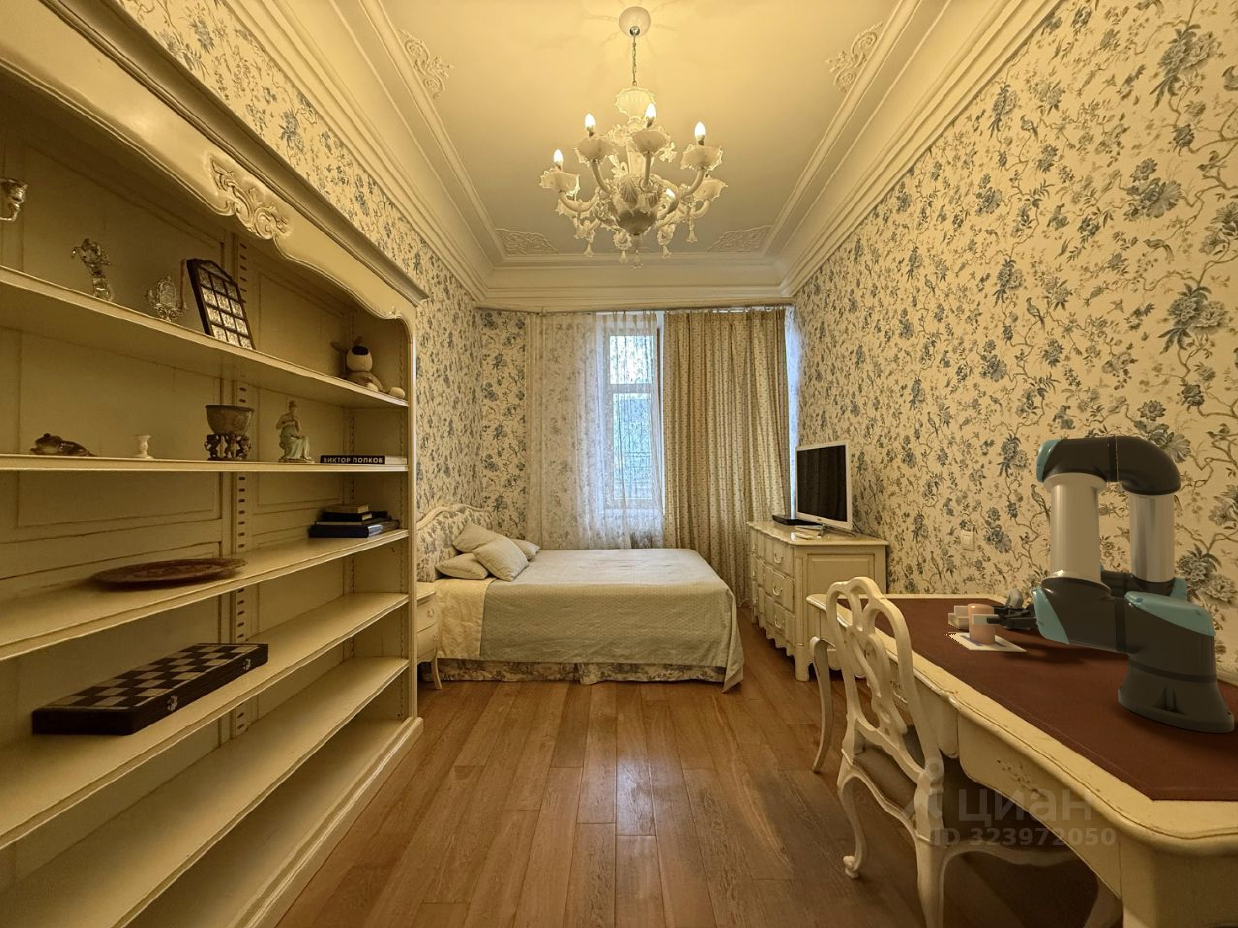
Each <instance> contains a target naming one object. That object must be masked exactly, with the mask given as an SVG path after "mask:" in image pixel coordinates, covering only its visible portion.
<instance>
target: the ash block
mask: <svg viewBox="0 0 1238 928" xmlns="http://www.w3.org/2000/svg"><path fill="white" fill-rule="evenodd" d="M947 618H948V619H947V621H948V623H947V624H950V625H952V626H954V627H956V628H958V629H969V616H961V615H954V612H948V613H947Z"/></svg>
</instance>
